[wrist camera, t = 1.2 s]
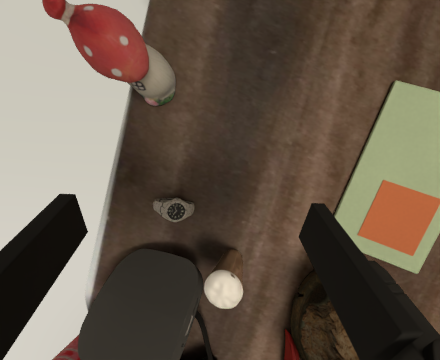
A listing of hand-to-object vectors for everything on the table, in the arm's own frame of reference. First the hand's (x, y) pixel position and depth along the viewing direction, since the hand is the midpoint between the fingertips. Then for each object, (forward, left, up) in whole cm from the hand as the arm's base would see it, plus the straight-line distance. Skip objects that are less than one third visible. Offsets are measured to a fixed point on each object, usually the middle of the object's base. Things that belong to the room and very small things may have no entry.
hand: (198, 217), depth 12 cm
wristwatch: (+6, -8, -20) cm, 22 cm away
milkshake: (+11, +3, -20) cm, 23 cm away
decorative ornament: (-11, -17, -20) cm, 28 cm away
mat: (-9, +20, -20) cm, 29 cm away
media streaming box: (+20, -5, -14) cm, 25 cm away
